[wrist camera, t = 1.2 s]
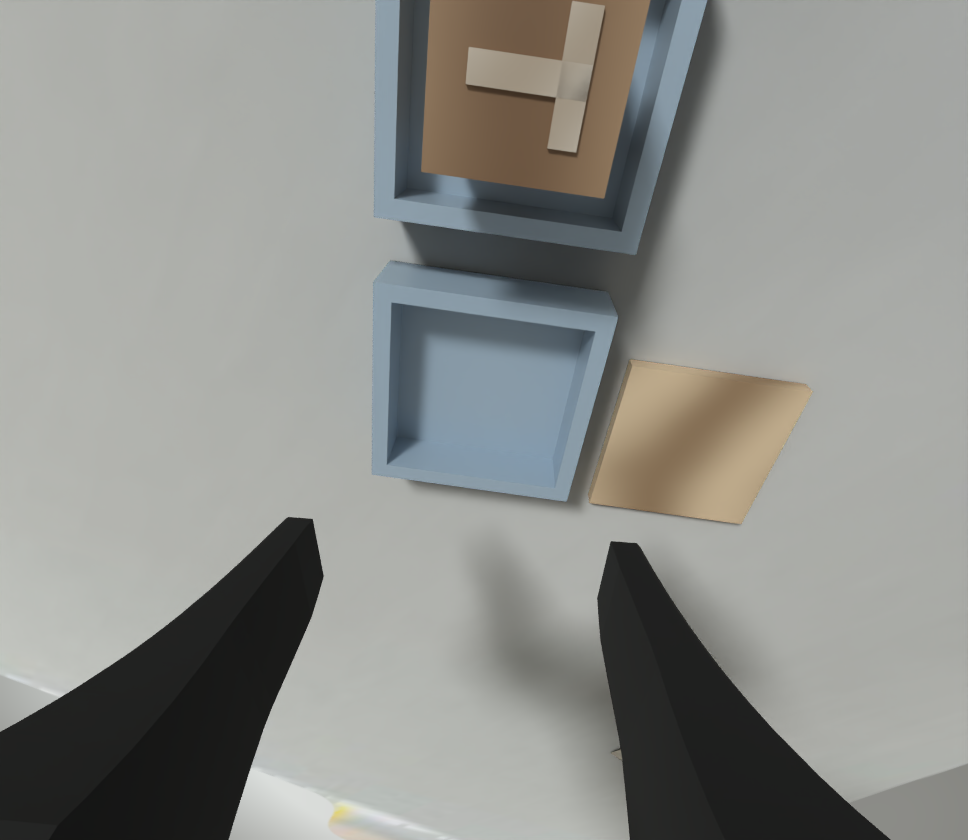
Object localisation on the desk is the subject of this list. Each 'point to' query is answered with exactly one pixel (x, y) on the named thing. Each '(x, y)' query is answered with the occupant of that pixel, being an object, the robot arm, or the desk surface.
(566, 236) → the dish
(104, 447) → the desk surface
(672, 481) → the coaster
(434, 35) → the letter block
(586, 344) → the dish
